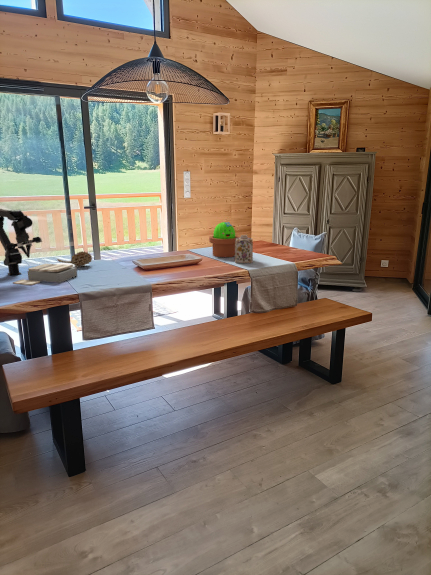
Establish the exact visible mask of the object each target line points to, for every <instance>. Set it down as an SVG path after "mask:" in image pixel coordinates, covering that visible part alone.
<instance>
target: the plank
mask: <svg viewBox="0 0 431 575" xmlns="http://www.w3.org/2000/svg"><path fill="white" fill-rule="evenodd" d="M41 282H42V281H37V280H28V279H23V278H21V279H19V280H16V281H13V282H12V284H13V285H14V284H16V285H24V286H35V285H37V284H39V283H41Z"/></svg>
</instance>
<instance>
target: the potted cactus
mask: <svg viewBox="0 0 431 575" xmlns="http://www.w3.org/2000/svg"><path fill="white" fill-rule="evenodd" d="M208 237H209V240H208V241H209V244H212V256H214V257H216V258H232V257H235V240H236V238H240V237H241V236H239V235H236V230H235V227H234V226H233V225H232V224H231V223H230V221H227V222H226V221H222V222H220V223H218V224H217V225H216V226H215V227H214V230H213V235H210V236H208Z"/></svg>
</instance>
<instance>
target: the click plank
mask: <svg viewBox="0 0 431 575" xmlns="http://www.w3.org/2000/svg"><path fill="white" fill-rule="evenodd" d="M53 264H54V263H53ZM71 267H74V264H66V263H64V264H63V263H62V264H61V263H60V264H57V263H56V264H54V265H51V266H48V267H45V268H42V269H39V272H59V271H62V270H65V269H68V268H71Z"/></svg>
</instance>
